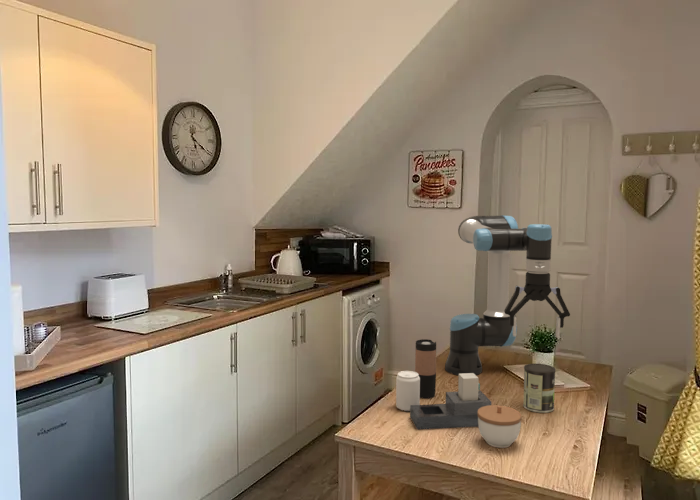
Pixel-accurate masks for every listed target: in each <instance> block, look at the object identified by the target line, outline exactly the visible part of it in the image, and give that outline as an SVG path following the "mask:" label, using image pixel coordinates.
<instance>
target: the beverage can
mask: <svg viewBox="0 0 700 500" xmlns="http://www.w3.org/2000/svg"><path fill="white" fill-rule="evenodd" d="M418 375H419V374H418V373H417V372H415V370H414V371H413V370H402V371H399V372H397V376H396V378H395V379H396V381H395V382H396V385H395V386H396V387H395V389H396V390H395V391H396V392H395V398H396V399H395V407H396V408H397V409H399V410H401V411H403V410H404V411H403V412H410V405H421V401H420V400H421V398H420V377H419V376H418Z"/></svg>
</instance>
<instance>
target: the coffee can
mask: <svg viewBox="0 0 700 500" xmlns="http://www.w3.org/2000/svg"><path fill="white" fill-rule="evenodd" d="M523 370H524V371H523V374H524V376H523V406H522V407H524V409H526V410H527V411H530V412H533V413H540V414H541V413H542V414H548V413H551V412H553V411H554V410H555V389H556V388H555V384H556V383H555V382H556V368H555V367H553V366H552V365H549V364H546V363H528V364H527V363H526V364H525V365H524V366H523Z"/></svg>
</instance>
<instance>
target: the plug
mask: <svg viewBox="0 0 700 500" xmlns="http://www.w3.org/2000/svg"><path fill="white" fill-rule="evenodd" d="M479 381H480V379H479V377H478V375H475V374H474V373H462V374H459V375H458V381H457V382H458V384H457V385H458V386H457V389H458V391H457V392H458V397H459V398H460V399H461V401H469V400H478V391H481V384H480V383H479Z"/></svg>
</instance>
